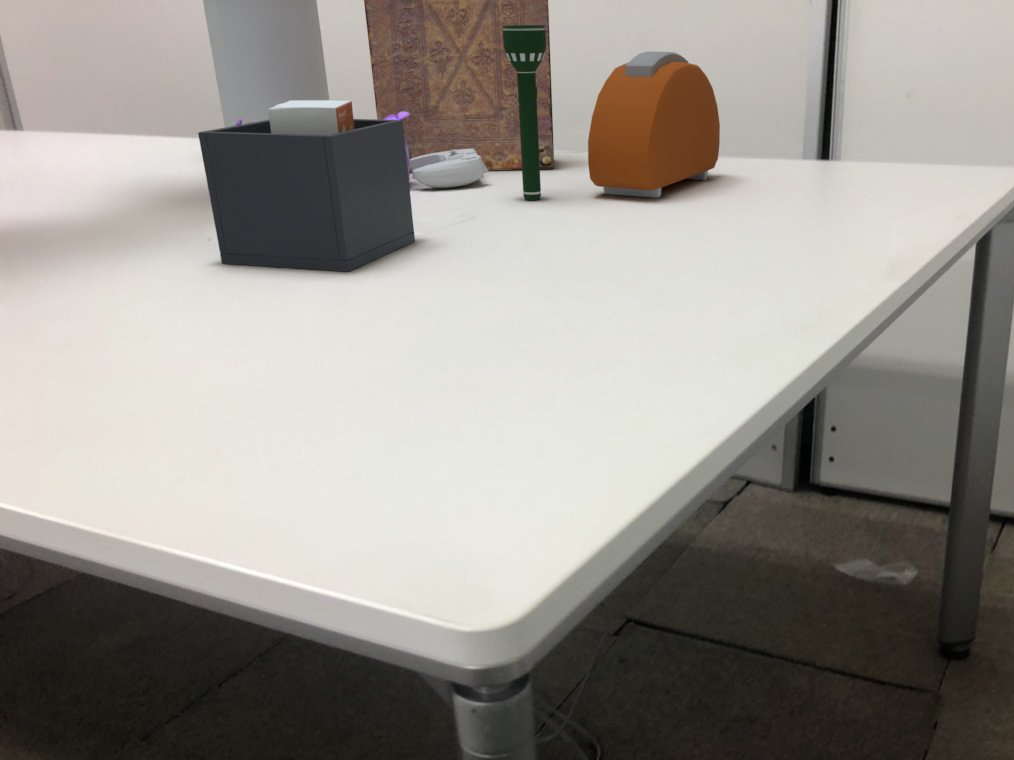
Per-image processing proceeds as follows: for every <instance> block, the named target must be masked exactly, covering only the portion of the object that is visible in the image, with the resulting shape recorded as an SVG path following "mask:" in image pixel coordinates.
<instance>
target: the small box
mask: <svg viewBox="0 0 1014 760" xmlns="http://www.w3.org/2000/svg"><path fill="white" fill-rule="evenodd" d="M268 114H269V121H270V128H271V133H273V134H307V135H331V134H336V133H340V132H345V131H349V130H354V129H355V128H354V119H355V118H354V111H353V101H352V100H330V101H326V100H303V101H288V102H286V103H282V104H278V105H276V106H275V107H272V108H269V109H268Z"/></svg>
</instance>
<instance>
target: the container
mask: <svg viewBox="0 0 1014 760" xmlns="http://www.w3.org/2000/svg"><path fill="white" fill-rule="evenodd" d="M202 3H203V9H204V15H205V21H206V27H207V32H208V33H207V34H208V38H209V39H208V40H209V45H210V50H211V55H212V63H213V67H214V73H215V79H216V86H217V90H218V96H219V103H220V109H221V113H222V120H223V127H224V128H225V127H231V126H236V123H237V121H238V120H239V119H240V118H241V119H242V124H248V123H251V122H252V121H253V120H256V121H264V120H269V114H268V109H269V108H272V107H275V106H276V105H278V104H282V103H286V102H288V101H303V100H326V101H331V99H330V94H329V93H330V92H329V86H328V79H327V78H328V77H327V71H326V70H327V69H326V62H325V55H324V47H323V39H322V31H321V23H320V15H319V8H318V1H317V0H202Z"/></svg>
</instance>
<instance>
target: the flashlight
mask: <svg viewBox="0 0 1014 760" xmlns="http://www.w3.org/2000/svg"><path fill="white" fill-rule="evenodd" d="M503 46H504V50H505V53H506V55H507V58H508V60H509V61H510V63H511V64H512V65H513V67H514V68H515V70H516V71H517V83H518V102H519V121H520V140H521V159H522V170H521V176H522V192H523V193H522V194H523V195H522V196H523V198H524V200H526V201H538V200H540V199H541V198H542V193H541V191H542V188H541V187H542V186H541V169H540V162H539V140H538V118H537V87H536V74H535V71H536V70H537V68H538V66H539V65H540V63H541V61H542V60H543V57H544V54H545V50H546V30H545V26H543V25H513V26H503Z"/></svg>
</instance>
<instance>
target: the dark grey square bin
mask: <svg viewBox="0 0 1014 760" xmlns="http://www.w3.org/2000/svg"><path fill="white" fill-rule="evenodd" d="M353 119H354V128H355V129H354V130H349V131H345V132H340V133H336V134H331V135H307V134H273V133H271V128H270V121H269V120H264V121H259V122H253V123H248V124H242V125H237V126H231V127H225V126H224V127H221V128H214V129H210V130H203V131H198V132H197V134H198V141H199V146H200V151H201V156H202V162H203V168H204V172H205V178H206V183H207V189H208V194H209V195H208V196H209V199H210V207H211V211H212V216H213V222H214V227H215V233H216V239H217V243H218V249H219V257H220V261H221V264H222V265H223V264H224V265H239V266H254V267H268V268H269V267H271V268H283V269H285V268H286V269H299V270H300V269H301V270H315V271H332V272H347V273H349V272H351V271H353V270H356V269H358V268H360V267H362V266H364V265H366V264H368V263H369V264H370V263H371V262H373V261H375V260H377V259H379V258H382V257H384V256H386V255H388V254H390V253H392V252H394V251H397V250H399V249H402V248H403V247H405V246H408V245H410V244H412V243H414V242H415V241H416V236H415V228H414V227H415V226H414V217H413V208H412V199H411V188H410V180H409V177H408V167H407V157H406V147H405V137H404V127H403V121H402V120H377V119H374V118H373V119H372V118H367V119H366V118H353Z"/></svg>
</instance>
